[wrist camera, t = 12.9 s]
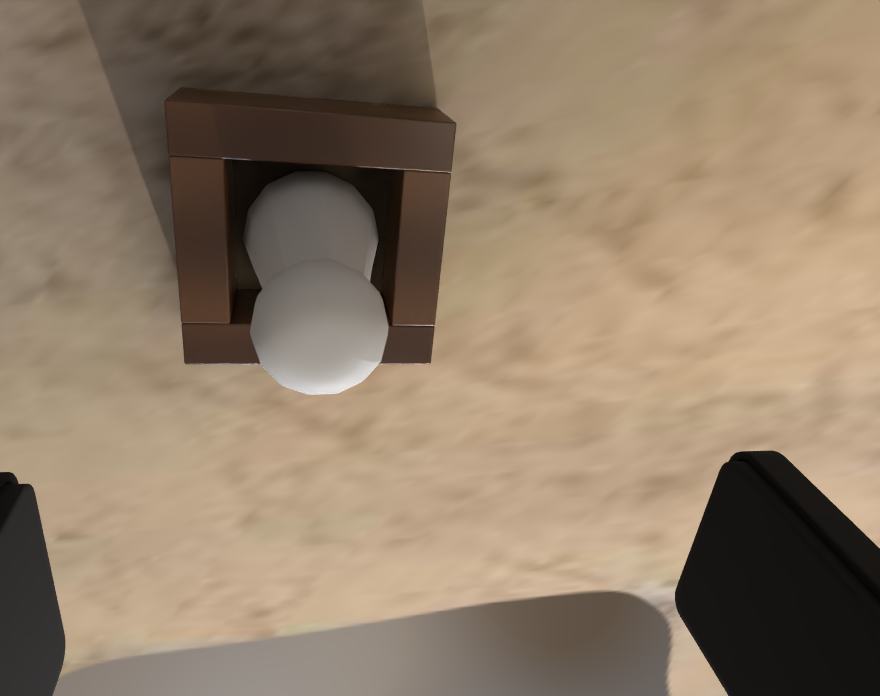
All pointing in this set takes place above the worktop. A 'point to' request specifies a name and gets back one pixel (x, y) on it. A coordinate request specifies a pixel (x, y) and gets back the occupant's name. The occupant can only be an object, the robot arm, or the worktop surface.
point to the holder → (308, 142)
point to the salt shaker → (315, 283)
